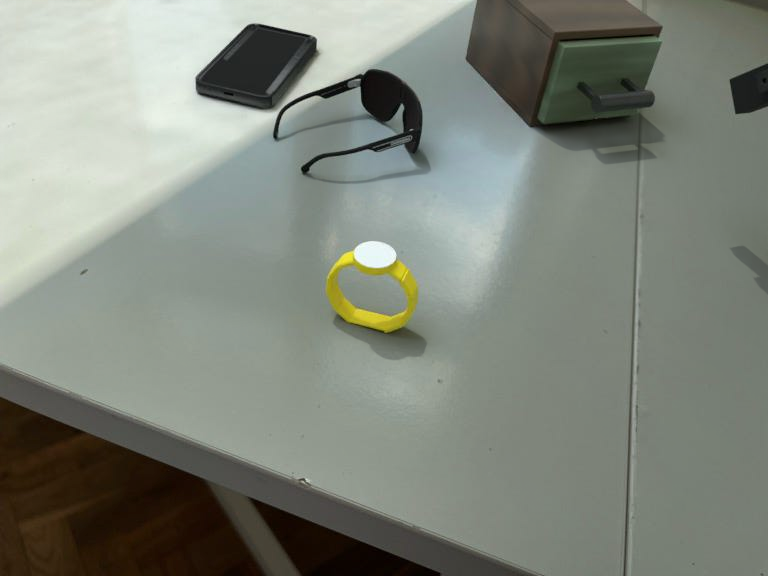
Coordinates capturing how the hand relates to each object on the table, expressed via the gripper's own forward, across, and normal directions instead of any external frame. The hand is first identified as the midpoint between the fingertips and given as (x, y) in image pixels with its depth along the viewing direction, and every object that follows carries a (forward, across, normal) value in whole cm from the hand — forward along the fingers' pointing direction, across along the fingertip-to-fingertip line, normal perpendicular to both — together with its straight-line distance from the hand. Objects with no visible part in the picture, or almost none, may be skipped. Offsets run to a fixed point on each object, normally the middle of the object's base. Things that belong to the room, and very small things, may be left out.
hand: (740, 96), depth 60 cm
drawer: (+22, 0, -6) cm, 23 cm away
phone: (+31, +29, -14) cm, 45 cm away
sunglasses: (+20, +25, -4) cm, 32 cm away
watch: (+4, +31, +12) cm, 34 cm away
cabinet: (+25, 0, -9) cm, 26 cm away
